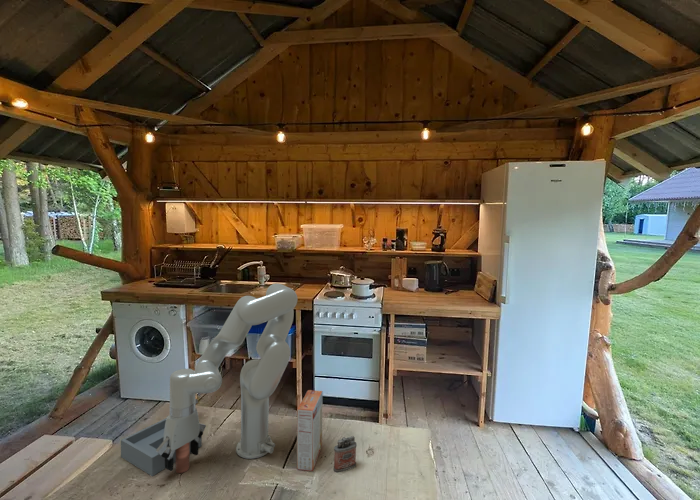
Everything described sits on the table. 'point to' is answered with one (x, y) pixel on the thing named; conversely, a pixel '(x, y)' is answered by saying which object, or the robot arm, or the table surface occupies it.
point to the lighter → (345, 454)
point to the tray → (147, 448)
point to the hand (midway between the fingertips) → (182, 461)
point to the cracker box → (309, 430)
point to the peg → (182, 458)
